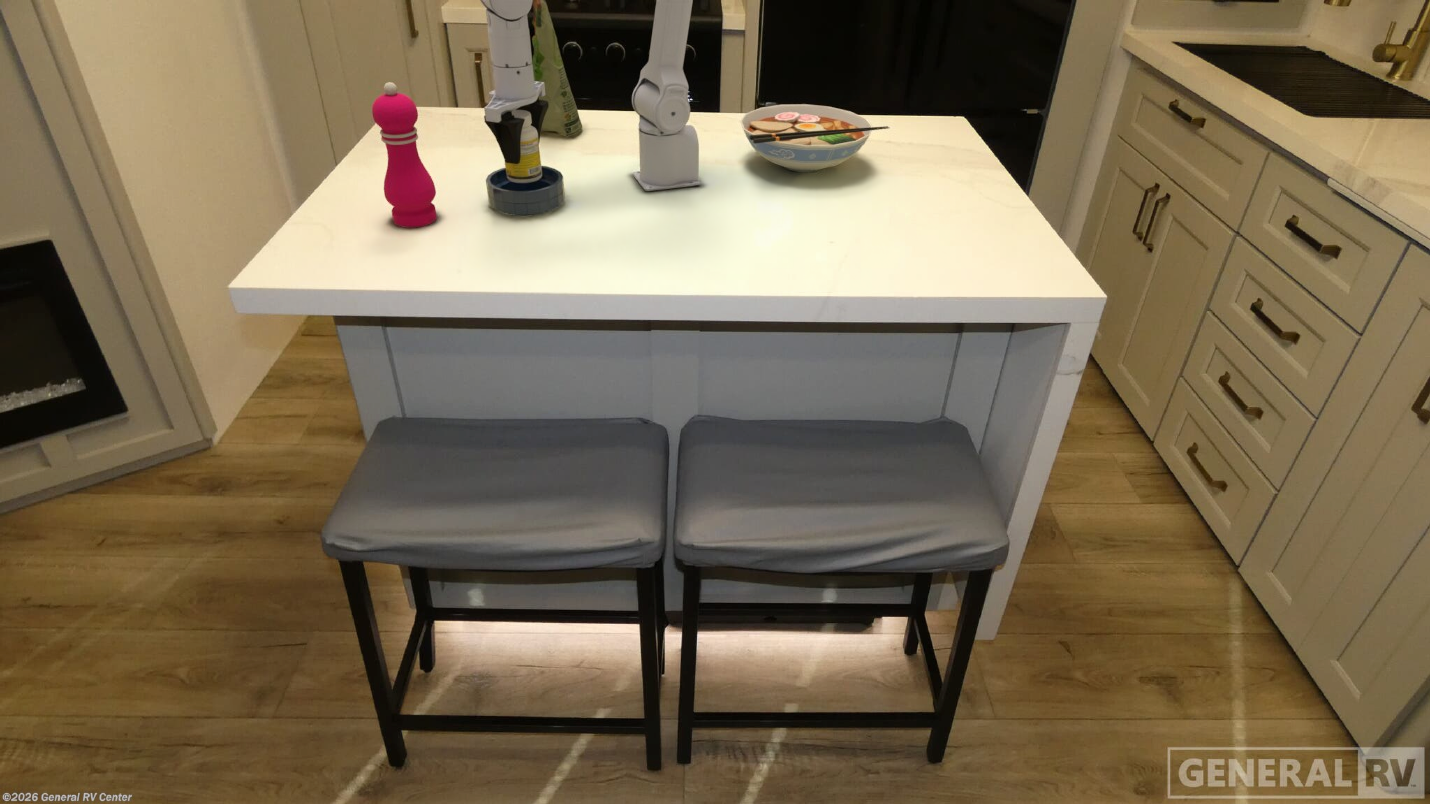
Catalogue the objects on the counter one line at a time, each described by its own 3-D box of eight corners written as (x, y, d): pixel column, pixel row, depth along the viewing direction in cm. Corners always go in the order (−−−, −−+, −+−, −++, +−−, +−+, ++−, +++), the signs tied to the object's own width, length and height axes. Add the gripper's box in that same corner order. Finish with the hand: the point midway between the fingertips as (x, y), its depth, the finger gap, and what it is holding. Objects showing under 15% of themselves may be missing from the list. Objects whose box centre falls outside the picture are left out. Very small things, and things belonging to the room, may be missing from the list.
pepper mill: (449, 213, 132) (427, 78, 120) (421, 232, 126) (395, 92, 114) (409, 206, 134) (383, 72, 122) (380, 224, 128) (349, 86, 116)
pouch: (557, 144, 158) (544, -4, 144) (509, 131, 163) (492, -13, 149) (596, 129, 166) (588, -14, 151) (549, 117, 171) (537, -22, 157)
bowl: (556, 186, 142) (554, 161, 139) (572, 213, 133) (569, 187, 130) (484, 194, 138) (481, 168, 136) (495, 222, 129) (492, 195, 127)
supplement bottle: (508, 171, 135) (500, 108, 129) (543, 171, 135) (537, 107, 130) (504, 184, 131) (496, 119, 125) (540, 184, 131) (534, 119, 125)
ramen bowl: (839, 138, 164) (844, 94, 160) (896, 181, 147) (904, 133, 142) (715, 150, 158) (716, 104, 153) (759, 196, 140) (762, 146, 135)
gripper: (511, 48, 130) (521, 138, 138) (460, 72, 119) (473, 168, 126) (554, 53, 128) (561, 143, 136) (506, 77, 117) (517, 174, 125)
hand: (522, 156), depth 131 cm, fingers closed on supplement bottle, 5 cm apart
